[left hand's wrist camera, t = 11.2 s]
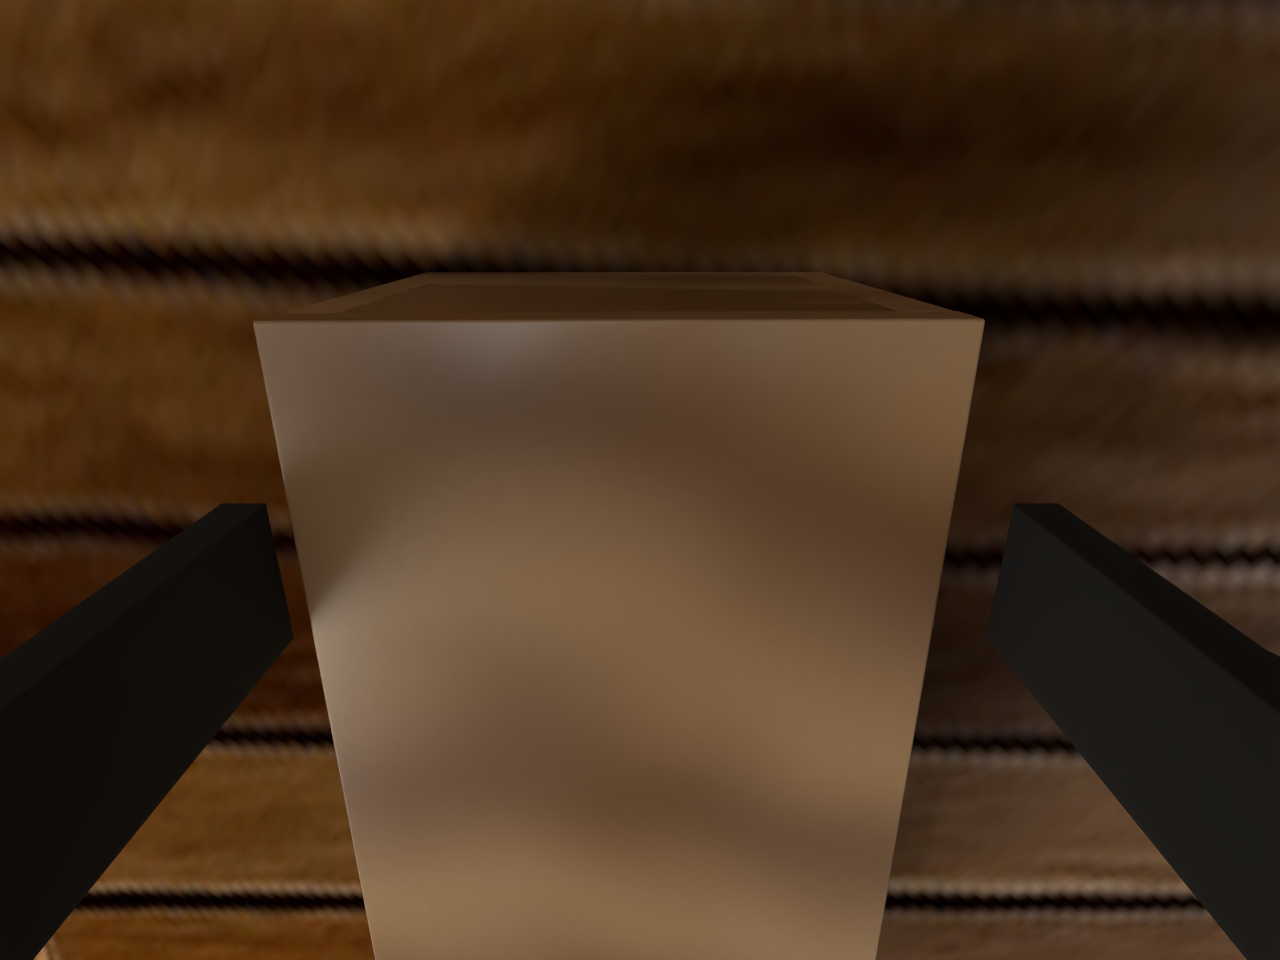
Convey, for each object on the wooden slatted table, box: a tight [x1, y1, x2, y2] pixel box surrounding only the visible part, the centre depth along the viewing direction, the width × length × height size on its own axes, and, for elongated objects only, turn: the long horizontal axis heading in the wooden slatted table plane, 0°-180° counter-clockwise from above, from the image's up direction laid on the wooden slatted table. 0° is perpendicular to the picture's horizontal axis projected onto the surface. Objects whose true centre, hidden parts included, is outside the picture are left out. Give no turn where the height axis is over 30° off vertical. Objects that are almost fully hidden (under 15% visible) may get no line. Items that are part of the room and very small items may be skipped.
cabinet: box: [253, 272, 985, 960], centre depth 19 cm, size 21×12×10 cm, turn 0°
